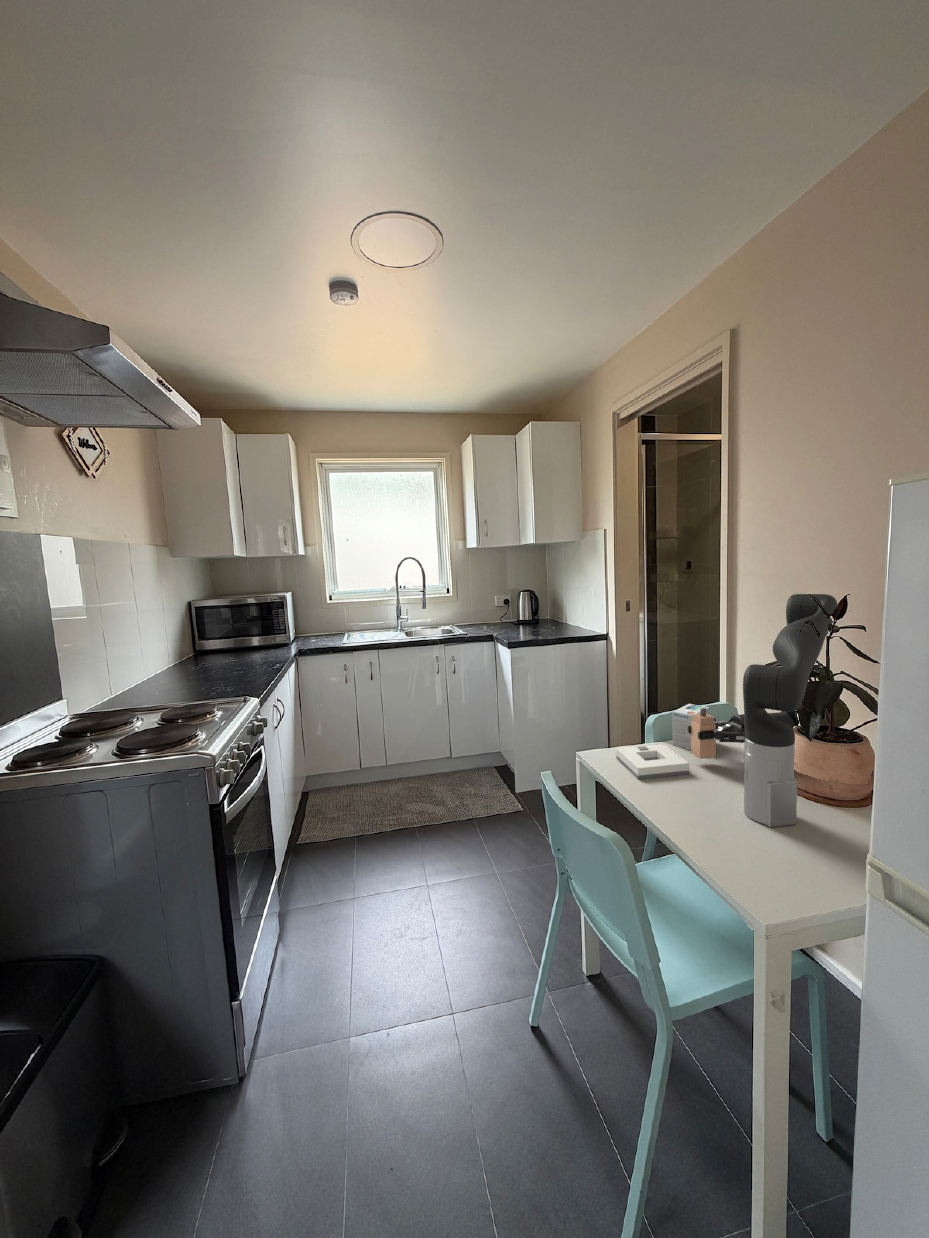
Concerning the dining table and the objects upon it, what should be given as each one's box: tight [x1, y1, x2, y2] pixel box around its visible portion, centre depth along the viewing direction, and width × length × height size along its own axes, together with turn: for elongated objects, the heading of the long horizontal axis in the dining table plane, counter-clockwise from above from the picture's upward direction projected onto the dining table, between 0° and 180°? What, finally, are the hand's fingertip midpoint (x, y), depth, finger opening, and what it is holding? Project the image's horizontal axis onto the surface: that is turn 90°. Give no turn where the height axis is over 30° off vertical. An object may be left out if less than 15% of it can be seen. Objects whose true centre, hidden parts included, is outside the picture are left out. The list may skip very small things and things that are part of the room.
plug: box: [690, 708, 717, 760], centre depth 137 cm, size 4×4×13 cm
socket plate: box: [615, 743, 690, 780], centre depth 139 cm, size 14×14×3 cm
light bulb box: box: [671, 703, 710, 750], centre depth 153 cm, size 11×7×11 cm, turn 130°
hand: (693, 732), depth 137 cm, fingers closed on plug, 4 cm apart
